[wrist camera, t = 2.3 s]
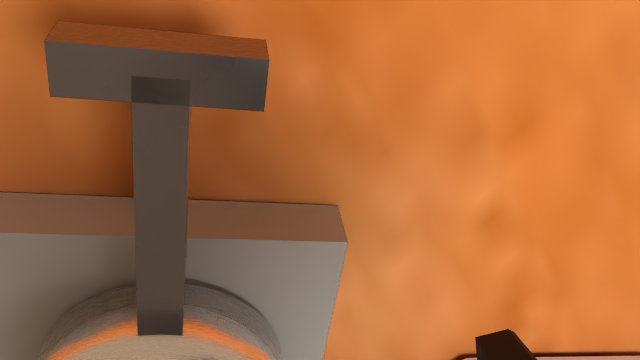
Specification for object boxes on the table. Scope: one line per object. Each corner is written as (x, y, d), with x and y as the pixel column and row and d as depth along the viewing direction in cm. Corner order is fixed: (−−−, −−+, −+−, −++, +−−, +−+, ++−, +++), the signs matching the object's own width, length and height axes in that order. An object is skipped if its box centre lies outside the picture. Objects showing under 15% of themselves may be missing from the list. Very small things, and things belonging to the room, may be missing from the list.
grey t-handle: (270, 437, 23) (280, 562, 19) (51, 445, 21) (15, 583, 18) (336, 34, 14) (377, 117, 11) (-20, -1, 13) (-118, 83, 9)
